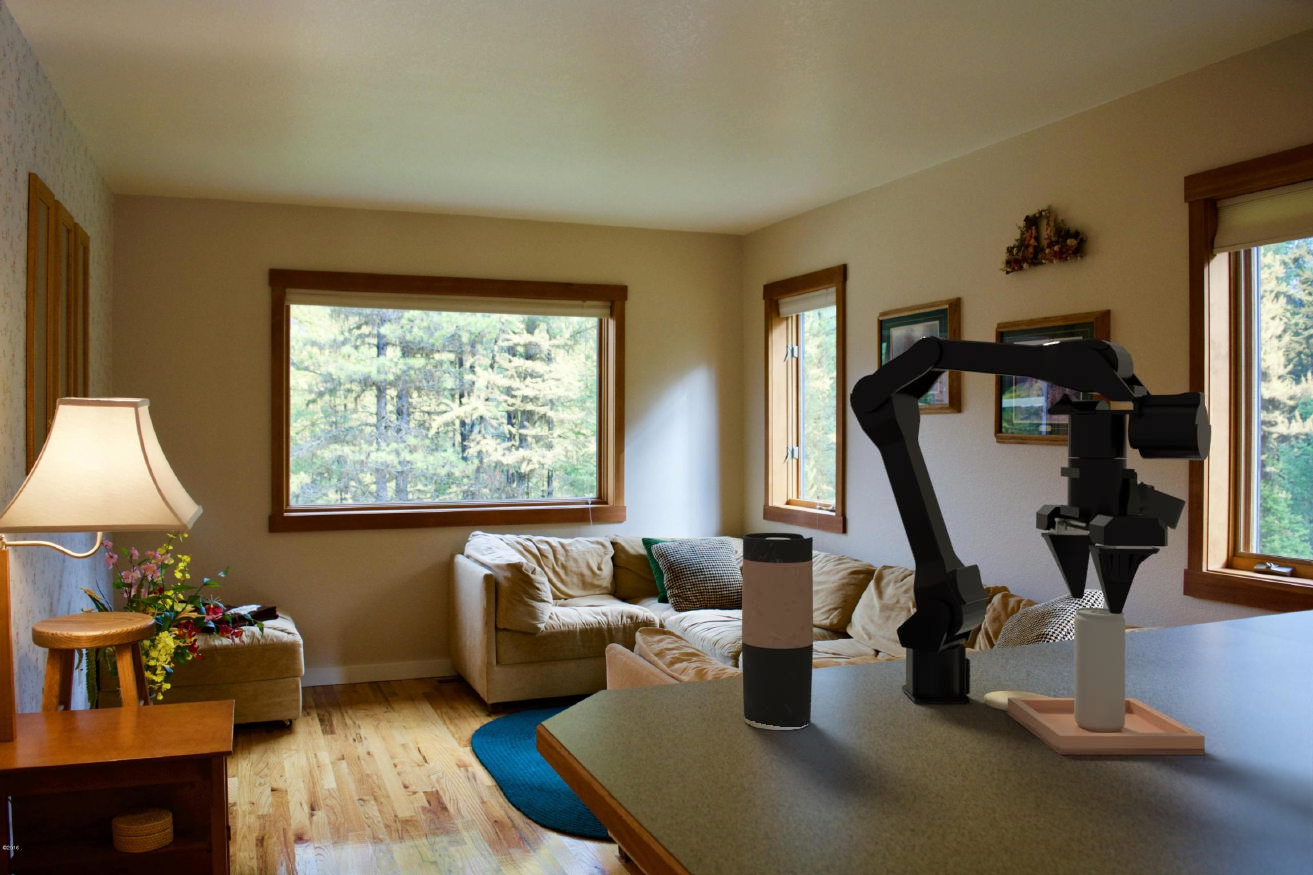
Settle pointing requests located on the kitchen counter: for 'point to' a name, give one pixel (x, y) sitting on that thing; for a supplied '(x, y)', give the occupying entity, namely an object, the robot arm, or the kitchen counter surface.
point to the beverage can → (1099, 670)
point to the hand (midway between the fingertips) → (1095, 605)
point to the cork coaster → (1001, 698)
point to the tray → (1137, 737)
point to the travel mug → (777, 628)
